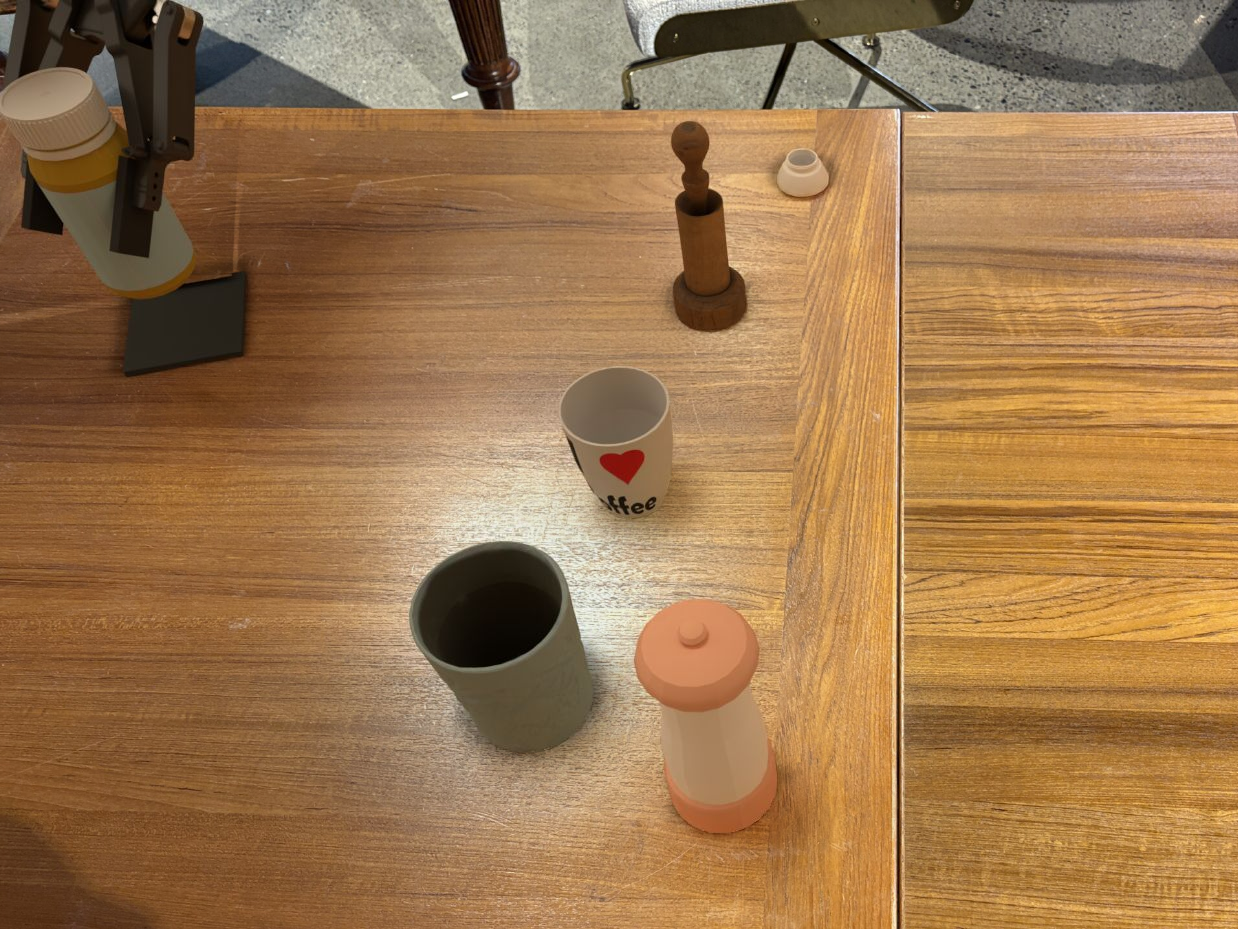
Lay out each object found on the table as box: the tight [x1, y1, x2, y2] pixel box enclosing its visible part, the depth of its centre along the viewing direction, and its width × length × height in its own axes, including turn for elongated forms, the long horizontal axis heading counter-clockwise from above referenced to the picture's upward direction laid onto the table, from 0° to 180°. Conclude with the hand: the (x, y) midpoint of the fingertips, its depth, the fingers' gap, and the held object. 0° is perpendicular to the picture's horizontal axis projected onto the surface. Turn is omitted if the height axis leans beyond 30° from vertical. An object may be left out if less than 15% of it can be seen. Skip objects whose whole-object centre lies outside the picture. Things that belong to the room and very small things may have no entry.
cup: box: [557, 365, 674, 520], centre depth 91 cm, size 8×8×10 cm
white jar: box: [776, 147, 830, 198], centre depth 116 cm, size 5×3×5 cm
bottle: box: [0, 67, 198, 300], centre depth 86 cm, size 7×7×15 cm
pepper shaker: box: [633, 598, 778, 834], centre depth 73 cm, size 7×7×19 cm
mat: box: [122, 270, 248, 377], centre depth 107 cm, size 10×11×1 cm
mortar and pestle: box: [670, 120, 748, 332], centre depth 100 cm, size 7×6×18 cm
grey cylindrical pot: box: [408, 540, 595, 753], centre depth 80 cm, size 10×10×12 cm
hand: (85, 242), depth 86 cm, fingers closed on bottle, 7 cm apart
